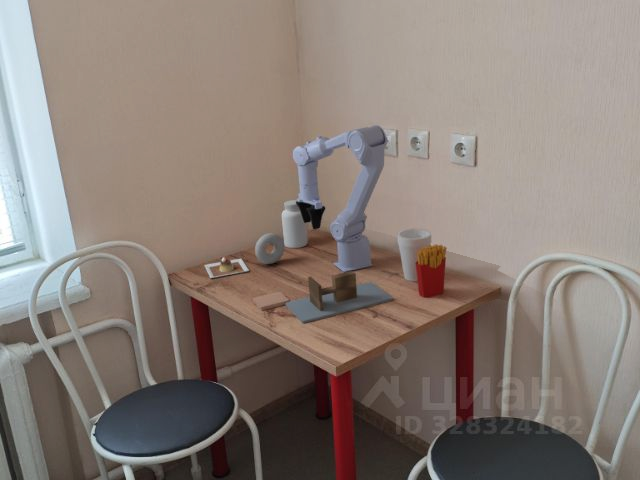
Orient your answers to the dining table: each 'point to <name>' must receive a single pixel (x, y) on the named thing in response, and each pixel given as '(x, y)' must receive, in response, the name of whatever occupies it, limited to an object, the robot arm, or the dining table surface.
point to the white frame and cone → (226, 267)
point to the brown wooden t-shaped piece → (334, 289)
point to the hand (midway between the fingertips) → (311, 225)
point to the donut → (264, 242)
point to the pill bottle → (293, 226)
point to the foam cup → (412, 249)
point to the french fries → (431, 270)
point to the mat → (338, 303)
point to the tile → (270, 300)
